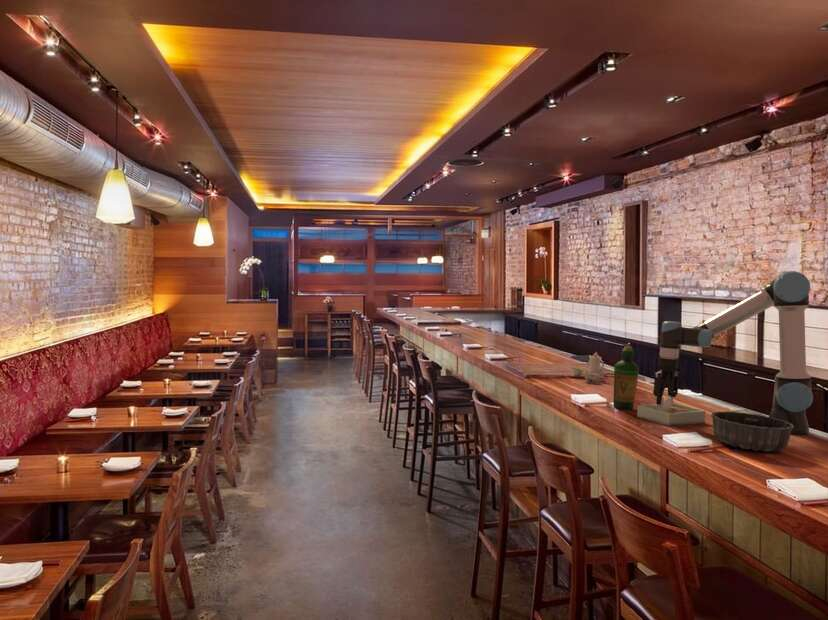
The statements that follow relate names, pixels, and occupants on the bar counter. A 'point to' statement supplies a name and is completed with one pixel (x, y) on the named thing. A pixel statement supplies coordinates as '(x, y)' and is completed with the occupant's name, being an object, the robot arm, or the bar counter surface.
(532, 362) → the bar counter surface
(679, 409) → the cube
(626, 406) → the bottle
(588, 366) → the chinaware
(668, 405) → the cylinder
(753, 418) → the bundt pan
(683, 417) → the tote
